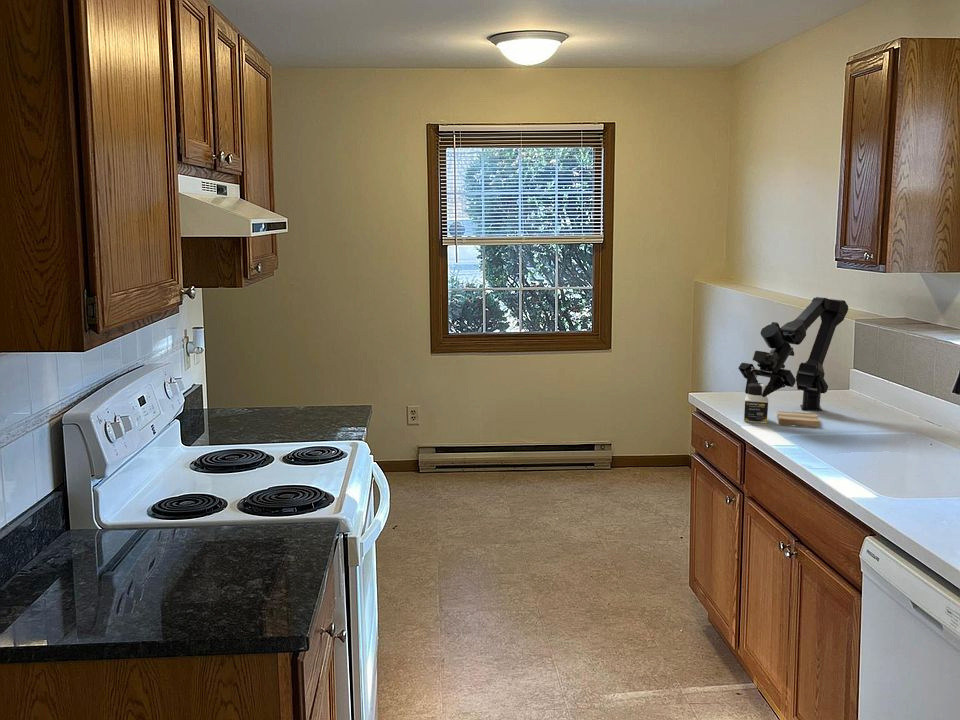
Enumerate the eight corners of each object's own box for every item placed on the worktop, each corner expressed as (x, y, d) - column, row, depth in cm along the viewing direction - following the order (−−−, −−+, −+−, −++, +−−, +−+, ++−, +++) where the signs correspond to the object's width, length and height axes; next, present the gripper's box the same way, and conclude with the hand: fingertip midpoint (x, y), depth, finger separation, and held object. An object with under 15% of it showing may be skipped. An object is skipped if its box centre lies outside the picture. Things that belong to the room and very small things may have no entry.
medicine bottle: (743, 421, 306) (745, 385, 304) (744, 417, 312) (746, 381, 310) (766, 423, 304) (769, 386, 302) (767, 418, 310) (769, 382, 308)
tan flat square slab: (776, 417, 313) (777, 411, 313) (815, 419, 310) (815, 413, 310) (779, 425, 302) (779, 418, 301) (819, 427, 299) (819, 421, 298)
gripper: (743, 338, 314) (720, 374, 309) (792, 345, 299) (769, 383, 294) (756, 359, 320) (734, 395, 315) (805, 367, 305) (783, 405, 300)
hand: (754, 394), depth 306 cm, fingers closed on medicine bottle, 6 cm apart
